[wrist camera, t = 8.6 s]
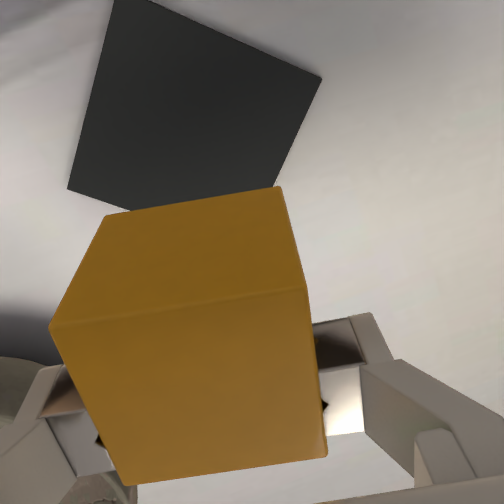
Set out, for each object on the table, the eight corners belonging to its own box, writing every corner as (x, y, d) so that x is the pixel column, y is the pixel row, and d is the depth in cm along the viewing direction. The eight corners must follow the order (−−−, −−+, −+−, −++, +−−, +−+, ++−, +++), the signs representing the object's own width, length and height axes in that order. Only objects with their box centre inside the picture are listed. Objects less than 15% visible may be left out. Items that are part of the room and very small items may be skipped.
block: (103, 214, 12) (44, 328, 8) (280, 184, 12) (307, 285, 8) (151, 348, 14) (122, 488, 10) (301, 325, 14) (329, 458, 10)
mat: (119, -13, 25) (117, -13, 25) (321, 78, 28) (322, 78, 28) (68, 186, 30) (66, 189, 30) (243, 246, 33) (243, 249, 33)
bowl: (-124, 280, 33) (-250, 386, 24) (172, 330, 36) (156, 439, 27) (-100, 470, 42) (-186, 598, 33) (134, 496, 45) (113, 618, 36)
